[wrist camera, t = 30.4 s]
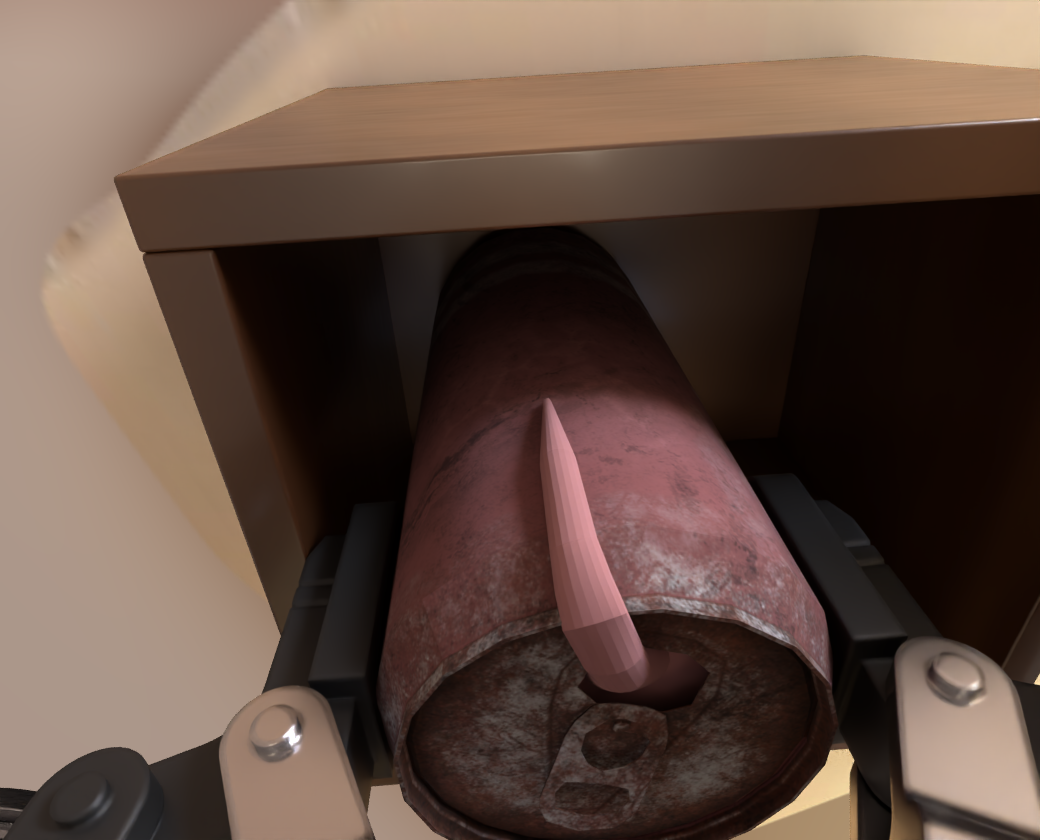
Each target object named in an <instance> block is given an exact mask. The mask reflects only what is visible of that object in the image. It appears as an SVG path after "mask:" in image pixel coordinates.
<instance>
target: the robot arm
mask: <svg viewBox="0 0 1040 840" xmlns="http://www.w3.org/2000/svg"><path fill="white" fill-rule="evenodd" d="M746 479H747V481H748V482H749V484H750V486H751V487H752V489H753V491H754V493H755V494H756V496H757V498H758V499H759V501H760V503H761V504H762V506H763V508H764V510H765V511H766V513H767V515H768V516H769V518H770V520H771V521H772V523H773V525H774V527H775V528H776V530H777V532H778V533H779V535H780V537H781V538H782V540H783V542H784V544H785V545H786V547H787V549H788V550H789V552H790V554H791V555H792V557H793V559H794V561H795V562H796V564H797V566H798V567H799V569H800V571H801V573H802V574H803V576H804V578H805V579H806V581H807V583H808V584H809V586H810V588H811V590H812V591H813V593H814V595H815V596H816V598H817V600H818V601H819V603H820V605H821V607H822V608H823V610H824V612H825V617H826V622H827V627H828V632H829V637H830V642H831V647H832V652H833V678H832V695H833V700H834V705H835V710H836V715H837V719H838V724H839V725H838V728H837V731H836V734H835V737H834V740H833V743H832V744H840V743H846V744H847V746H848V748H849V750H850V752H851V754H852V756H853V758H854V760H855V761H854V763H853V766H852V769H851V772H850V840H1040V685H1035V684H1030V683H1025V682H1020V681H1016V680H1012V679H1010V678H1009V677H1008V675H1007V674H1006V673H1005V672H1004V671H1003V670H1002V669H1001V668H1000V667H999V666H998V665H997V664H996V663H995V662H994V661H992V660H991V659H990V658H989V657H987V656H986V655H984V654H983V653H981V652H979V651H978V650H976V649H974V648H972V647H970V646H968V645H966V644H963V643H961V642H958V641H955V640H952V639H948V638H944V637H943V636H942V635H941V634H940V632H939V631H938V630H937V628H936V627H935V626H934V624H933V623H932V622H931V620H930V619H929V618H928V616H927V615H926V614H925V612H924V611H923V610H922V609H921V607H920V606H919V605H918V603H917V602H916V601H915V599H914V598H913V597H912V595H911V594H910V593H909V591H908V590H907V589H906V587H905V586H904V585H903V583H902V582H901V581H900V579H899V578H898V577H897V575H896V574H895V573H894V571H893V570H892V569H891V568H890V566H889V565H888V564H887V565H886V564H885V562H884V558H883V557H882V556H881V554H880V553H879V552H878V550H877V549H876V548H875V546H874V545H872V546H871V544H870V540H869V538H868V537H867V536H866V534H865V533H864V532H863V530H862V529H861V528H860V527H859V525H858V524H857V523H856V521H855V520H854V519H853V518H852V517H851V516H849V515H848V514H846V513H845V512H844V511H842V510H841V509H839V508H838V507H836V506H835V505H834V504H832V503H831V502H829V501H828V500H813V499H812V497H811V496H810V494H809V493H808V492H807V490H806V489H805V487H804V486H803V484H802V483H801V482H800V480H799V479H798V478H797V476H796V475H794V474H792V473H784V474H771V475H757V476H749V477H747V478H746ZM402 520H403V515H402V510H401V506H400V503H399V502H398V501H388V502H375V503H361V504H355V506H354V508H353V511H352V514H351V518H350V522H349V526H348V530H347V533H346V534H341V535H327V536H325V537H324V538H323V539H322V540H321V542H320V543H319V544H318V545H317V546H316V547H315V549H314V550H313V551H312V552H311V553H310V554H309V556H308V557H307V558H306V561H305V564H304V567H303V570H302V573H301V576H300V579H299V587H298V588H297V589H296V592H295V595H294V598H293V601H292V608H290V610H289V613H288V616H287V619H286V622H285V625H284V629H283V632H282V635H281V638H280V641H279V644H278V647H277V650H276V653H275V656H274V659H273V662H272V665H271V668H270V671H269V674H268V678H267V681H266V684H265V687H264V689H263V692H262V694H261V695H259V696H258V697H256V698H255V699H253V700H252V701H250V702H249V703H248V704H246V705H245V706H244V707H243V708H242V709H241V710H240V711H239V712H238V713H237V714H236V715H235V716H234V717H233V719H232V720H231V722H230V723H229V725H228V726H227V728H226V730H225V732H224V734H223V735H222V736H220V737H218V738H216V739H214V740H213V741H210V742H208V743H206V744H204V745H201V746H199V747H196V748H193V749H191V750H188V751H185V752H183V753H180V754H177V755H175V756H172V757H169V758H167V759H164V760H161V761H159V762H156V763H153V764H151V765H148V764H147V762H146V761H145V759H144V758H143V757H142V756H141V755H140V754H139V753H137V752H136V751H133V750H131V749H129V748H122V747H114V748H106V749H101V750H98V751H94V752H92V753H89V754H87V755H84V756H82V757H80V758H78V759H76V760H75V761H73V762H71V763H69V764H68V765H66V766H65V767H64V768H62V769H61V770H60V771H58V772H57V773H56V774H54V775H53V776H52V777H51V778H50V779H49V780H47V782H45V783H44V785H43V786H42V787H41V788H40V789H39V790H38V791H37V792H36V793H35V795H34V796H33V797H32V798H31V800H30V801H29V802H28V804H27V805H26V807H25V808H24V810H23V811H22V812H21V814H20V815H19V817H18V818H17V819H16V821H15V822H14V823H9V822H0V840H376V839H375V836H374V833H373V831H372V828H371V825H370V822H369V819H368V816H367V811H368V805H369V798H370V791H371V784H372V779H384V778H392V777H393V768H394V763H393V760H394V756H393V754H392V751H391V749H390V747H389V744H388V741H387V737H386V734H385V730H384V727H383V723H382V719H381V716H380V712H379V709H378V705H377V701H376V683H377V677H378V670H379V664H380V658H381V651H382V645H383V639H384V633H385V626H386V620H387V614H388V608H389V601H390V595H391V589H392V582H393V576H394V570H395V564H396V557H397V551H398V545H399V539H400V532H401V526H402Z"/></svg>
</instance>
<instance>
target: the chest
mask: <svg viewBox="0 0 1040 840" xmlns="http://www.w3.org/2000/svg"><path fill="white" fill-rule="evenodd" d="M114 182H115V185H116V188H117V191H118V193H119V196H120V199H121V202H122V204H123V207H124V210H125V212H126V215H127V218H128V221H129V223H130V226H131V229H132V232H133V234H134V237H135V240H136V242H137V245H138V248H139V250H140V251H141V252H145V253H144V254H143V261H144V264H145V266H146V269H147V272H148V275H149V277H150V280H151V283H152V285H153V288H154V291H155V294H156V296H157V299H158V302H159V305H160V307H161V310H162V313H163V315H164V318H165V321H166V324H167V326H168V329H169V332H170V335H171V337H172V340H173V343H174V345H175V348H176V351H177V354H178V356H179V359H180V362H181V365H182V367H183V370H184V373H185V375H186V378H187V381H188V384H189V386H190V389H191V392H192V395H193V397H194V400H195V403H196V405H197V408H198V411H199V414H200V416H201V419H202V422H203V425H204V427H205V430H206V433H207V435H208V438H209V441H210V444H211V446H212V449H213V452H214V455H215V457H216V460H217V463H218V465H219V468H220V471H221V474H222V476H223V479H224V482H225V485H226V487H227V490H228V493H229V496H230V498H231V501H232V504H233V506H234V509H235V512H236V515H237V517H238V520H239V523H240V526H241V528H242V531H243V534H244V536H245V539H246V542H247V545H248V547H249V550H250V553H251V556H252V558H253V561H254V564H255V566H256V569H257V572H258V575H259V577H260V580H261V583H262V586H263V588H264V591H265V594H266V596H267V599H268V602H269V605H270V607H271V610H272V613H273V615H274V618H275V621H276V624H277V626H278V629H279V632H280V634H281V635H282V632H283V629H284V625H285V622H286V619H287V616H288V613H289V610H290V608H292V601H293V598H294V595H295V592H296V589H297V588H298V587H299V579H300V576H301V573H302V570H303V567H304V564H305V561H306V558H307V557H308V556H309V554H310V553H311V552H312V551H313V550H314V549H315V547H316V546H317V545H318V544H319V543H320V542H321V540H322V539H323V538H324V537H325V536H327V535H341V534H346V533H347V530H348V526H349V522H350V518H351V514H352V511H353V508H354V506H355V504H361V503H375V502H388V501H398V502H399V503H400V506H401V510H402V515H403V512H404V505H405V499H406V493H407V487H408V480H409V474H410V468H411V462H412V456H413V449H414V443H415V437H416V431H417V424H418V418H419V412H420V406H421V399H422V393H423V387H424V381H425V374H426V368H427V362H428V356H429V350H430V343H431V337H432V331H433V325H434V319H435V315H436V310H437V305H438V300H439V295H440V292H441V290H442V289H443V287H444V285H445V284H446V282H447V280H448V279H449V277H450V275H451V274H452V272H453V270H454V269H455V267H456V265H457V264H459V263H460V262H461V261H462V260H463V259H464V258H466V257H467V256H468V255H469V254H470V253H471V252H473V251H474V250H475V249H476V248H477V247H478V246H480V245H481V244H482V243H484V242H487V241H489V240H491V239H494V238H496V237H499V236H501V235H504V234H506V233H509V232H511V231H514V230H523V229H537V228H553V229H557V230H561V231H565V232H569V233H573V234H577V235H581V236H583V237H585V238H586V239H588V240H589V241H591V242H592V243H594V244H595V245H597V246H598V247H600V248H602V249H603V250H605V251H606V252H608V253H609V254H610V255H611V256H612V257H613V259H614V260H615V261H616V263H617V264H618V265H619V267H620V268H621V269H622V271H623V272H624V273H625V275H626V276H627V277H628V279H629V280H630V282H631V283H632V285H633V287H634V289H635V290H636V292H637V294H638V295H639V297H640V299H641V300H642V302H643V304H644V306H645V307H646V309H647V311H648V312H649V314H650V316H651V317H652V319H653V321H654V323H655V324H656V326H657V328H658V329H659V331H660V333H661V334H662V336H663V338H664V340H665V341H666V343H667V345H668V346H669V348H670V350H671V351H672V353H673V355H674V357H675V358H676V360H677V362H678V363H679V365H680V367H681V368H682V370H683V372H684V374H685V375H686V377H687V379H688V380H689V382H690V384H691V385H692V387H693V389H694V391H695V392H696V394H697V396H698V397H699V399H700V401H701V402H702V404H703V406H704V408H705V409H706V411H707V413H708V414H709V416H710V418H711V419H712V421H713V423H714V425H715V426H716V428H717V430H718V431H719V433H720V435H721V436H722V438H723V440H724V442H725V443H726V445H727V447H728V448H729V450H730V452H731V453H732V455H733V457H734V459H735V460H736V462H737V464H738V465H739V467H740V469H741V470H742V472H743V474H744V476H745V477H746V478H747V477H749V476H757V475H771V474H784V473H792V474H794V475H796V476H797V478H798V479H799V480H800V482H801V483H802V484H803V486H804V487H805V489H806V490H807V492H808V493H809V494H810V496H811V497H812V499H813V500H828V501H829V502H831V503H832V504H834V505H835V506H836V507H838V508H839V509H841V510H842V511H844V512H845V513H846V514H848V515H849V516H851V517H852V518H853V519H854V520H855V521H856V523H857V524H858V525H859V527H860V528H861V529H862V530H863V532H864V533H865V534H866V536H867V537H868V538H869V540H870V544H871V546H872V545H874V546H875V548H876V549H877V550H878V552H879V553H880V554H881V556H882V557H883V558H884V562H885V564H886V565H887V564H888V565H889V566H890V568H891V569H892V570H893V571H894V573H895V574H896V575H897V577H898V578H899V579H900V581H901V582H902V583H903V585H904V586H905V587H906V589H907V590H908V591H909V593H910V594H911V595H912V597H913V598H914V599H915V601H916V602H917V603H918V605H919V606H920V607H921V609H922V610H923V611H924V612H925V614H926V615H927V616H928V618H929V619H930V620H931V622H932V623H933V624H934V626H935V627H936V628H937V630H938V631H939V632H940V634H941V635H942V636H943V637H944V638H948V639H952V640H955V641H958V642H961V643H963V644H966V645H968V646H970V647H972V648H974V649H976V650H978V651H979V652H981V653H983V654H984V655H986V656H987V657H989V658H990V659H991V660H992V661H994V662H995V663H996V664H997V665H998V666H999V667H1000V668H1001V669H1002V670H1003V671H1004V672H1005V673H1006V674H1007V675H1008V677H1009V678H1010V679H1012V680H1016V681H1020V682H1025V683H1030V684H1034V682H1035V681H1036V679H1037V677H1038V675H1039V674H1040V70H1039V69H1026V68H1014V67H1001V66H989V65H976V64H964V63H951V62H939V61H926V60H914V59H901V58H889V57H877V56H848V57H831V58H815V59H799V60H783V61H767V62H750V63H734V64H718V65H702V66H685V67H669V68H653V69H637V70H621V71H604V72H588V73H572V74H556V75H540V76H523V77H507V78H491V79H475V80H458V81H442V82H426V83H410V84H394V85H377V86H361V87H345V88H329V89H325V90H323V91H321V92H318V93H316V94H313V95H311V96H308V97H306V98H304V99H301V100H299V101H296V102H294V103H291V104H289V105H287V106H284V107H282V108H279V109H277V110H275V111H272V112H270V113H267V114H265V115H262V116H260V117H258V118H255V119H253V120H250V121H248V122H245V123H243V124H241V125H238V126H236V127H233V128H231V129H228V130H226V131H224V132H221V133H219V134H216V135H214V136H212V137H209V138H207V139H204V140H202V141H199V142H197V143H195V144H192V145H190V146H187V147H185V148H182V149H180V150H178V151H175V152H173V153H170V154H168V155H165V156H163V157H161V158H158V159H156V160H153V161H151V162H149V163H146V164H144V165H141V166H139V167H136V168H134V169H132V170H129V171H127V172H124V173H122V174H120V175H117V176H116V177H114ZM838 749H849V748H848V746H847V744H846V743H840V744H832V746H831V749H830V750H838ZM395 784H399V780H398V777H397V773H396V770H395V766H394V768H393V777H392V778H384V779H372V784H371V786H383V785H395Z"/></svg>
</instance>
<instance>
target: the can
mask: <svg viewBox="0 0 1040 840" xmlns="http://www.w3.org/2000/svg"><path fill="white" fill-rule="evenodd" d="M832 678H833V652H832V647H831V642H830V637H829V632H828V627H827V622H826V617H825V612H824V610H823V608H822V607H821V605H820V603H819V601H818V600H817V598H816V596H815V595H814V593H813V591H812V590H811V588H810V586H809V584H808V583H807V581H806V579H805V578H804V576H803V574H802V573H801V571H800V569H799V567H798V566H797V564H796V562H795V561H794V559H793V557H792V555H791V554H790V552H789V550H788V549H787V547H786V545H785V544H784V542H783V540H782V538H781V537H780V535H779V533H778V532H777V530H776V528H775V527H774V525H773V523H772V521H771V520H770V518H769V516H768V515H767V513H766V511H765V510H764V508H763V506H762V504H761V503H760V501H759V499H758V498H757V496H756V494H755V493H754V491H753V489H752V487H751V486H750V484H749V482H748V481H747V479H746V477H745V476H744V474H743V472H742V470H741V469H740V467H739V465H738V464H737V462H736V460H735V459H734V457H733V455H732V453H731V452H730V450H729V448H728V447H727V445H726V443H725V442H724V440H723V438H722V436H721V435H720V433H719V431H718V430H717V428H716V426H715V425H714V423H713V421H712V419H711V418H710V416H709V414H708V413H707V411H706V409H705V408H704V406H703V404H702V402H701V401H700V399H699V397H698V396H697V394H696V392H695V391H694V389H693V387H692V385H691V384H690V382H689V380H688V379H687V377H686V375H685V374H684V372H683V370H682V368H681V367H680V365H679V363H678V362H677V360H676V358H675V357H674V355H673V353H672V351H671V350H670V348H669V346H668V345H667V343H666V341H665V340H664V338H663V336H662V334H661V333H660V331H659V329H658V328H657V326H656V324H655V323H654V321H653V319H652V317H651V316H650V314H649V312H648V311H647V309H646V307H645V306H644V304H643V302H642V300H641V299H640V297H639V295H638V294H637V292H636V290H635V289H634V287H633V285H632V283H631V282H630V280H629V279H628V277H627V276H626V275H625V273H624V272H623V271H622V269H621V268H620V267H619V265H618V264H617V263H616V261H615V260H614V259H613V257H612V256H611V255H610V254H609V253H608V252H606V251H605V250H603V249H602V248H600V247H598V246H597V245H595V244H594V243H592V242H591V241H589V240H588V239H586V238H585V237H583V236H581V235H577V234H573V233H569V232H565V231H561V230H557V229H553V228H537V229H523V230H514V231H511V232H509V233H506V234H504V235H501V236H499V237H496V238H494V239H491V240H489V241H487V242H484V243H482V244H481V245H480V246H478V247H477V248H476V249H475V250H474V251H473V252H471V253H470V254H469V255H468V256H467V257H466V258H464V259H463V260H462V261H461V262H460V263H459V264H457V265H456V267H455V269H454V270H453V272H452V274H451V275H450V277H449V279H448V280H447V282H446V284H445V285H444V287H443V289H442V290H441V292H440V295H439V300H438V305H437V310H436V315H435V319H434V325H433V331H432V337H431V343H430V350H429V356H428V362H427V368H426V374H425V381H424V387H423V393H422V399H421V406H420V412H419V418H418V424H417V431H416V437H415V443H414V449H413V456H412V462H411V468H410V474H409V480H408V487H407V493H406V499H405V505H404V512H403V520H402V526H401V532H400V539H399V545H398V551H397V557H396V564H395V570H394V576H393V582H392V589H391V595H390V601H389V608H388V614H387V620H386V626H385V633H384V639H383V645H382V651H381V658H380V664H379V670H378V677H377V683H376V701H377V705H378V709H379V712H380V716H381V719H382V723H383V727H384V730H385V734H386V737H387V741H388V744H389V747H390V749H391V751H392V754H393V756H394V760H393V763H394V766H395V770H396V773H397V777H398V780H399V784H400V787H401V791H402V795H403V798H404V801H405V802H406V803H407V804H408V805H409V806H410V807H411V808H412V809H413V810H414V812H416V814H417V815H418V816H419V817H420V818H421V819H422V820H423V821H424V822H425V823H426V824H427V826H429V828H430V829H431V830H432V831H433V832H435V833H437V834H439V835H441V836H442V837H445V838H446V839H448V840H729V839H732V838H734V837H736V836H739V835H741V834H744V833H746V832H748V831H751V830H752V829H754V828H755V827H756V826H758V825H759V824H761V823H762V822H764V821H765V820H767V819H768V818H770V817H771V816H773V815H774V814H776V813H777V812H779V811H780V810H781V809H783V808H784V807H786V806H787V805H789V804H790V803H792V802H793V801H795V799H796V798H797V797H798V796H799V795H800V794H801V792H802V791H803V790H804V789H805V788H806V787H807V785H808V784H809V783H810V782H811V781H812V780H813V778H814V777H815V776H816V775H817V774H818V773H819V771H820V770H821V769H822V768H823V767H824V766H825V764H826V761H827V758H828V755H829V752H830V749H831V746H832V743H833V740H834V737H835V734H836V731H837V728H838V725H839V724H838V719H837V715H836V710H835V705H834V700H833V695H832Z"/></svg>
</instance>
